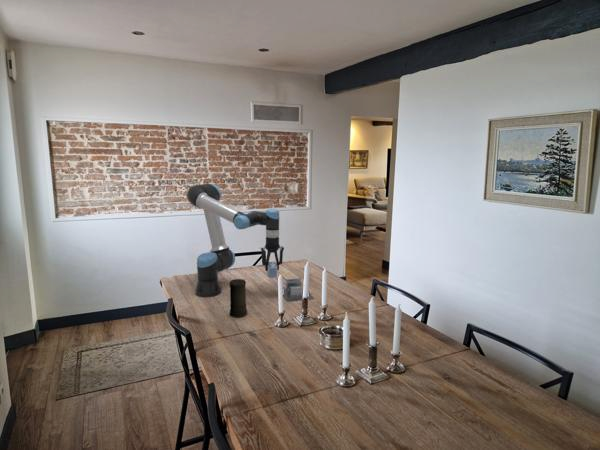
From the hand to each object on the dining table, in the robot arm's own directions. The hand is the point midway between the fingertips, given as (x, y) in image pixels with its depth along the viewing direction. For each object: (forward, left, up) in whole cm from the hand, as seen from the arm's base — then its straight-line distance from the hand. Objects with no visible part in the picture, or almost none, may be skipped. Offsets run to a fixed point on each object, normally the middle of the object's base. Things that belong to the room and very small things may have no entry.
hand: (272, 275), depth 228 cm
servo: (0, 0, 0) cm, 0 cm away
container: (+21, -22, -13) cm, 33 cm away
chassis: (0, +14, -13) cm, 19 cm away
